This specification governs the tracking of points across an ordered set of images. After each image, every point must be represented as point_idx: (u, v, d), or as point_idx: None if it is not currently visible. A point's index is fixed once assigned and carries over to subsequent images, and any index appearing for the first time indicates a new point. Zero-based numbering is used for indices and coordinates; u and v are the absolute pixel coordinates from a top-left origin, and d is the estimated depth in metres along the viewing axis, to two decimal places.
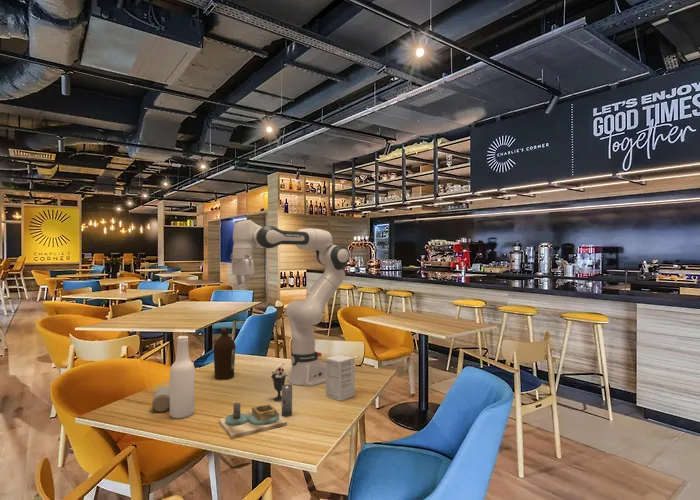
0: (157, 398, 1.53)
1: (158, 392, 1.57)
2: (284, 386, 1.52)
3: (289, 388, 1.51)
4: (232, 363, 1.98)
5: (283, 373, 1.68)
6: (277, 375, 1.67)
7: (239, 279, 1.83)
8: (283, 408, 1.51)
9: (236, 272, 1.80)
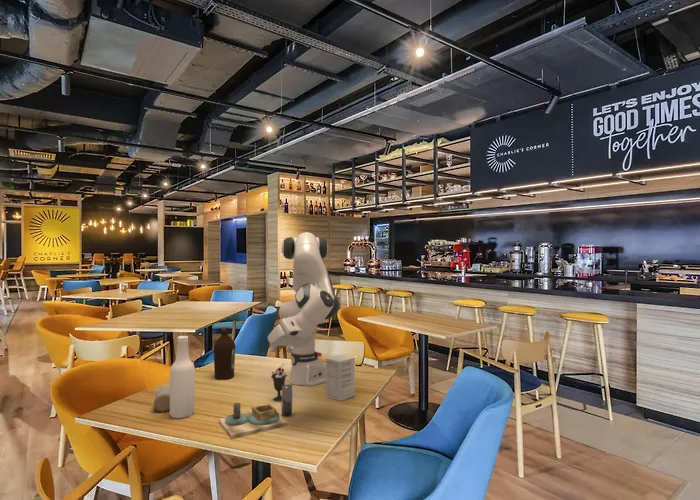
0: (159, 398, 1.54)
1: (160, 392, 1.57)
2: (284, 386, 1.52)
3: (289, 388, 1.51)
4: (232, 363, 1.98)
5: (283, 373, 1.68)
6: (277, 375, 1.67)
7: None
8: (283, 408, 1.51)
9: (284, 344, 1.47)
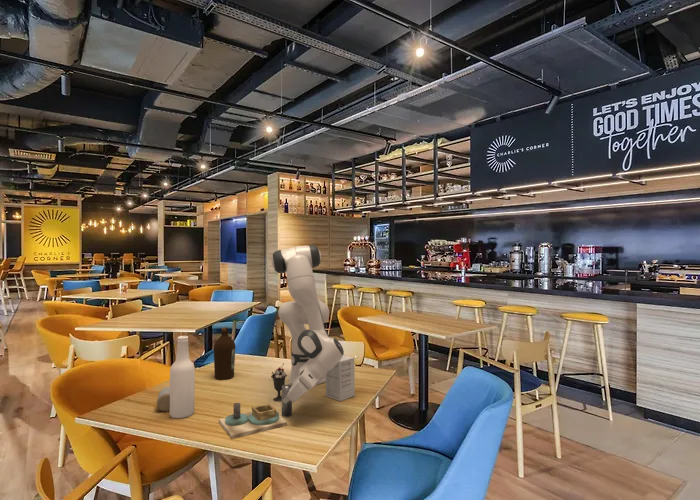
0: (161, 397, 1.54)
1: (162, 391, 1.58)
2: (284, 386, 1.52)
3: (289, 388, 1.51)
4: (232, 363, 1.98)
5: (283, 373, 1.68)
6: (277, 375, 1.67)
7: None
8: (283, 408, 1.51)
9: None
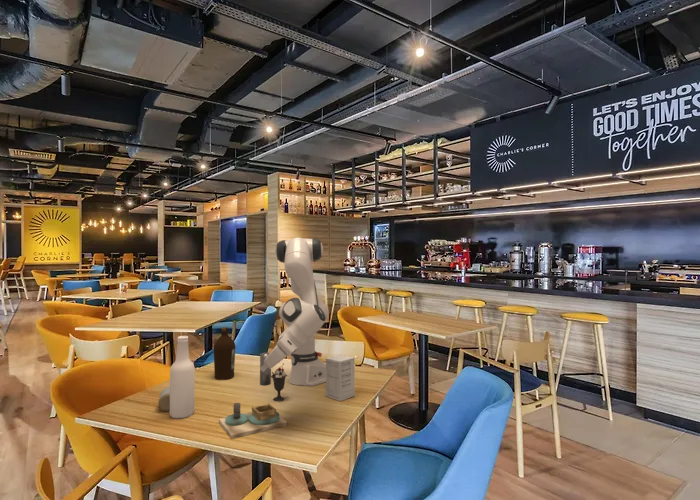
0: (163, 397, 1.54)
1: (164, 391, 1.58)
2: (263, 354, 1.45)
3: (267, 355, 1.44)
4: (232, 363, 1.98)
5: (283, 373, 1.68)
6: (277, 375, 1.67)
7: None
8: (261, 377, 1.44)
9: None
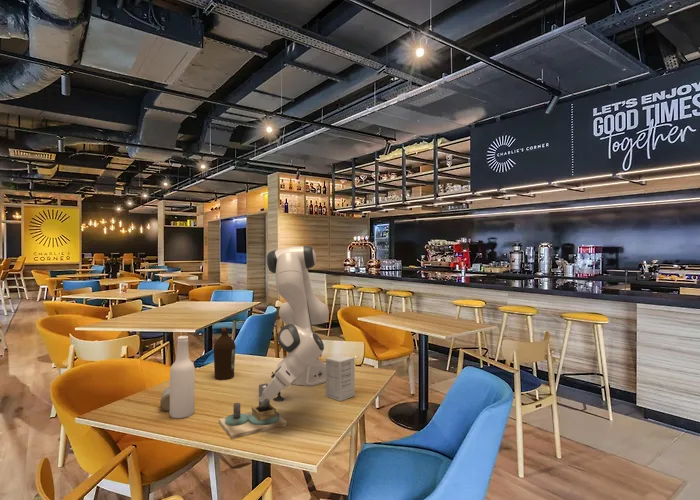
0: (165, 397, 1.55)
1: (166, 391, 1.58)
2: (261, 385, 1.45)
3: None
4: (232, 363, 1.98)
5: None
6: None
7: None
8: (260, 409, 1.44)
9: None
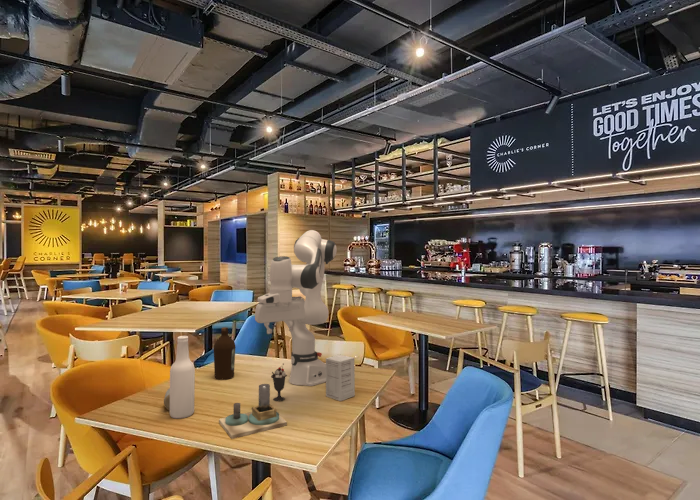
0: (168, 397, 1.55)
1: (169, 391, 1.59)
2: (261, 386, 1.45)
3: (266, 387, 1.44)
4: (232, 363, 1.98)
5: (283, 373, 1.68)
6: (277, 375, 1.67)
7: None
8: (260, 409, 1.44)
9: (274, 318, 1.53)
